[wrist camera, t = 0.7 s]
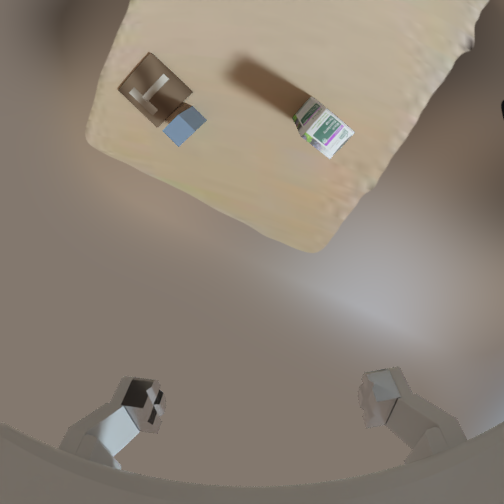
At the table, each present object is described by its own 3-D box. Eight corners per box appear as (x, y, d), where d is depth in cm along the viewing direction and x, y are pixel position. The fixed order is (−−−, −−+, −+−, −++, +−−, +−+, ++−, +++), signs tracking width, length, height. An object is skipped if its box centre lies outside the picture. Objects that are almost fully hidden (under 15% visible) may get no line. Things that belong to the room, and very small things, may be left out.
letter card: (151, 53, 41) (150, 53, 40) (192, 92, 46) (191, 92, 45) (119, 89, 45) (117, 90, 45) (158, 126, 50) (156, 127, 50)
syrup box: (310, 95, 45) (324, 106, 34) (335, 114, 47) (356, 133, 36) (292, 117, 48) (298, 136, 37) (316, 136, 50) (330, 161, 39)
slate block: (192, 106, 48) (178, 114, 41) (206, 120, 49) (195, 131, 42) (178, 119, 49) (162, 130, 42) (192, 133, 51) (178, 146, 44)
